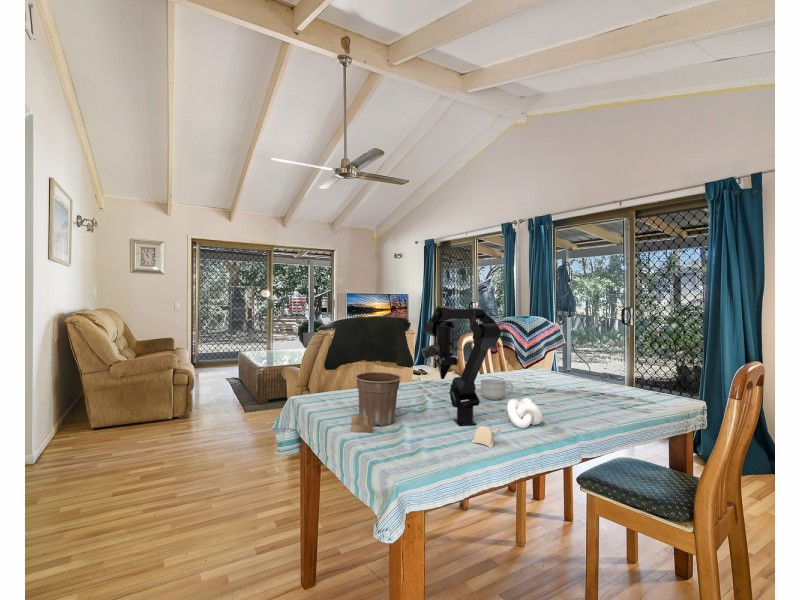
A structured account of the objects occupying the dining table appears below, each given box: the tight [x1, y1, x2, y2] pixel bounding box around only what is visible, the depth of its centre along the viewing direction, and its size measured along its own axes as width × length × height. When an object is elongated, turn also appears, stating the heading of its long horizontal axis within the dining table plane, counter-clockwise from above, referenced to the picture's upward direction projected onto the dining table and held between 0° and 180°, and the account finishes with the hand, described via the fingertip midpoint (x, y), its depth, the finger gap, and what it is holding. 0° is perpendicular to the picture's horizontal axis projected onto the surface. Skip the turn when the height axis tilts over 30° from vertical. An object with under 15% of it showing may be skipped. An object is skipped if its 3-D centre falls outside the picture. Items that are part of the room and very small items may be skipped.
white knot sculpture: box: [506, 397, 543, 429], centre depth 146 cm, size 11×12×9 cm
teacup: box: [480, 378, 514, 401], centre depth 180 cm, size 14×11×8 cm
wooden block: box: [350, 408, 374, 434], centre depth 147 cm, size 7×24×6 cm, turn 179°
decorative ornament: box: [471, 425, 501, 448], centre depth 126 cm, size 4×8×5 cm, turn 51°
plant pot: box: [355, 371, 402, 427], centre depth 146 cm, size 16×16×16 cm
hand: (442, 378), depth 159 cm, fingers closed
